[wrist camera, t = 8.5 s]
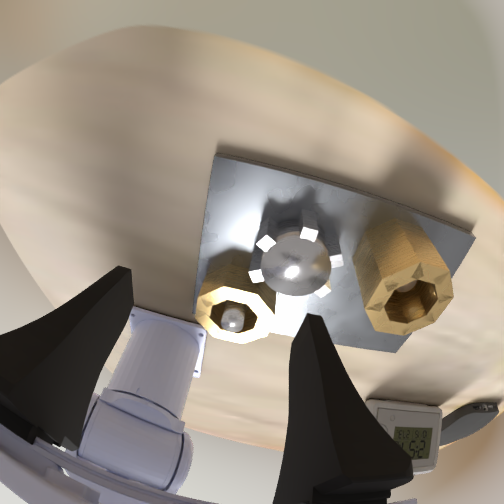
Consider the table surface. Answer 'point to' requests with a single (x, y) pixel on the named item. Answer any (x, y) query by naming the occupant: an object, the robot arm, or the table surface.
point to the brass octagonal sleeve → (401, 277)
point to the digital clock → (411, 429)
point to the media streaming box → (466, 421)
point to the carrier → (295, 253)
